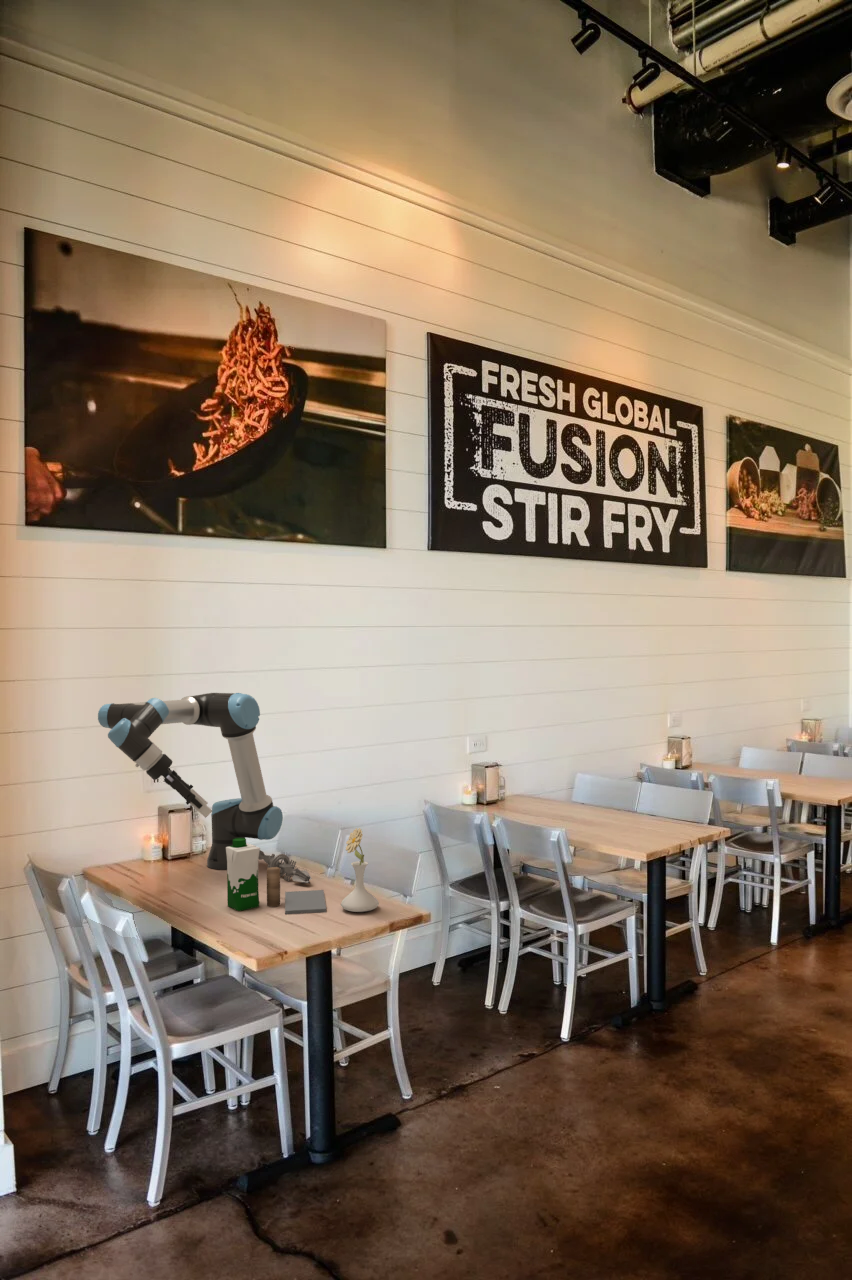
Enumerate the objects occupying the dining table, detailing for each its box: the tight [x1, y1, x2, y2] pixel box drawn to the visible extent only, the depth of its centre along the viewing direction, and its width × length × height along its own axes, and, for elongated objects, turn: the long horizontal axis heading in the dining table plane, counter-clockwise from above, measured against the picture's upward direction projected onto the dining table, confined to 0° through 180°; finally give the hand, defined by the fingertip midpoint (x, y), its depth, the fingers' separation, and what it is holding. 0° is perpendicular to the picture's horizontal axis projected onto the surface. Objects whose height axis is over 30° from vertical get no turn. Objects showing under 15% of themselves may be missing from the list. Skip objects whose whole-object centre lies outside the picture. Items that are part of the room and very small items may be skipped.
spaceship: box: [258, 849, 313, 885], centre depth 306 cm, size 8×35×8 cm
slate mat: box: [284, 889, 327, 915], centre depth 275 cm, size 20×12×1 cm, turn 9°
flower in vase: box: [340, 827, 380, 913], centre depth 268 cm, size 13×11×25 cm
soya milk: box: [226, 837, 261, 912], centre depth 272 cm, size 9×9×20 cm
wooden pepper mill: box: [266, 867, 281, 908], centre depth 274 cm, size 4×4×11 cm
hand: (206, 810), depth 269 cm, fingers open, 13 cm apart
